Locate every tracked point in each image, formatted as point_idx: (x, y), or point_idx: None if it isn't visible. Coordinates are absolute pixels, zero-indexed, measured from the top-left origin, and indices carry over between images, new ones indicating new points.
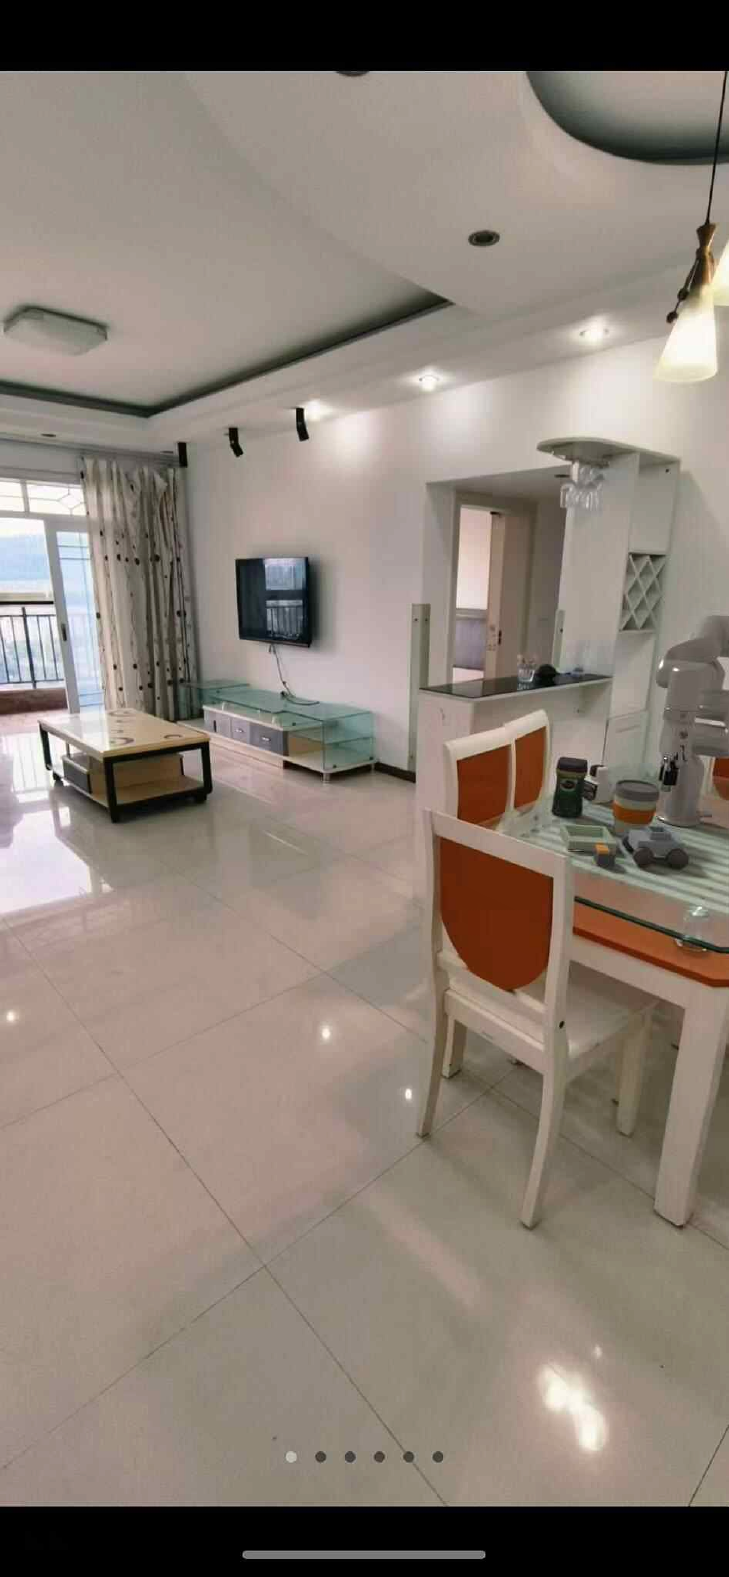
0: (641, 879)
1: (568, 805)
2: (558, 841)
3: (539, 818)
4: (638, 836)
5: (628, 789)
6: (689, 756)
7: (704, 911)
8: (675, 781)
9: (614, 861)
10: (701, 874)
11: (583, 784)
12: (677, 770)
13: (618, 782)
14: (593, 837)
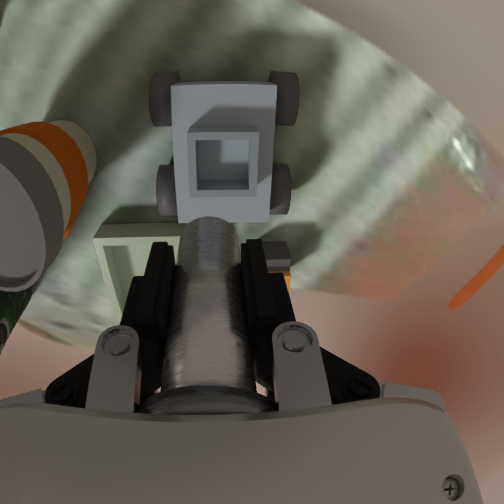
0: (348, 204)
1: (21, 296)
2: None
3: (61, 320)
4: (234, 213)
5: (37, 271)
6: (465, 449)
7: (466, 142)
8: (263, 260)
9: (287, 249)
10: (316, 48)
11: None
12: (322, 348)
13: None
14: (131, 254)
